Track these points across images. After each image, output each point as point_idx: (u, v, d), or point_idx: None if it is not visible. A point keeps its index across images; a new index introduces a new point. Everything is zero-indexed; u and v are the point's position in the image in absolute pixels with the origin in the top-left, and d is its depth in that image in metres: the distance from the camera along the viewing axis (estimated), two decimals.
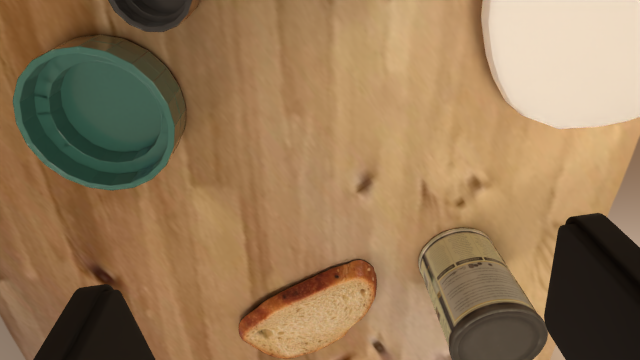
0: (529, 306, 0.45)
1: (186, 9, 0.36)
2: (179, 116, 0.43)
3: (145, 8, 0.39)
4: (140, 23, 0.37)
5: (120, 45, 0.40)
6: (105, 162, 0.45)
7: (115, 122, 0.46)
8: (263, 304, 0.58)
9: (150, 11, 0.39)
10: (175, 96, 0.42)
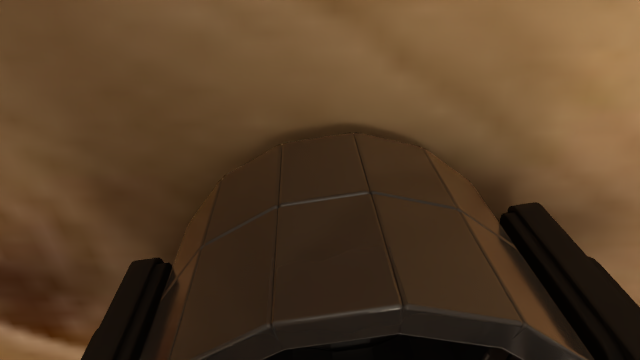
0: None
1: None
2: None
3: None
4: None
5: None
6: None
7: None
8: None
9: None
10: None
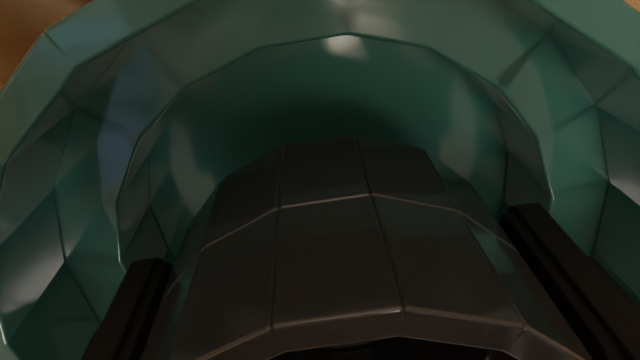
0: None
1: None
2: None
3: None
4: None
5: None
6: None
7: None
8: None
9: None
10: None
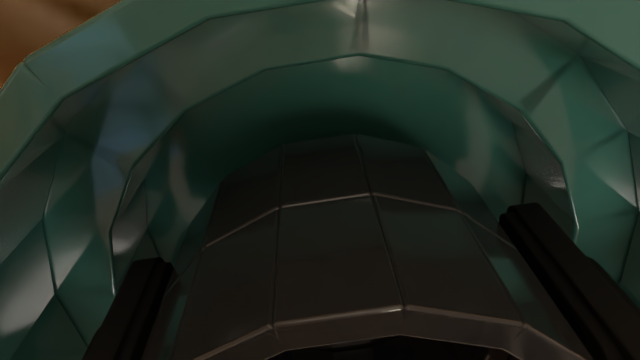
0: None
1: None
2: None
3: None
4: None
5: None
6: None
7: None
8: None
9: None
10: None
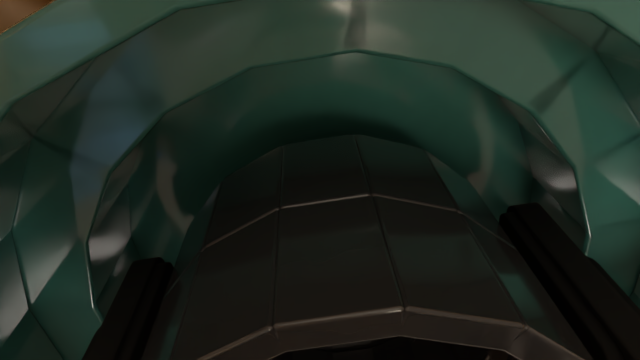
0: None
1: None
2: None
3: None
4: None
5: None
6: None
7: None
8: None
9: None
10: None
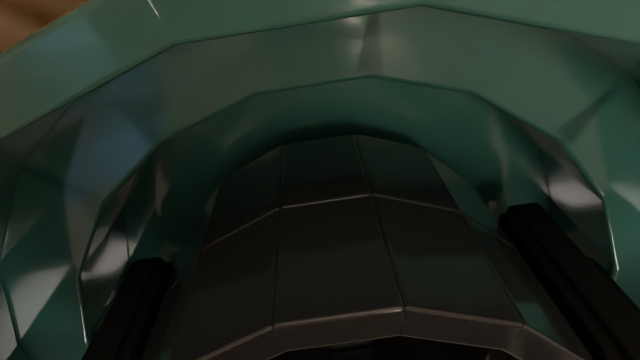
0: None
1: None
2: None
3: None
4: None
5: None
6: None
7: None
8: None
9: None
10: None
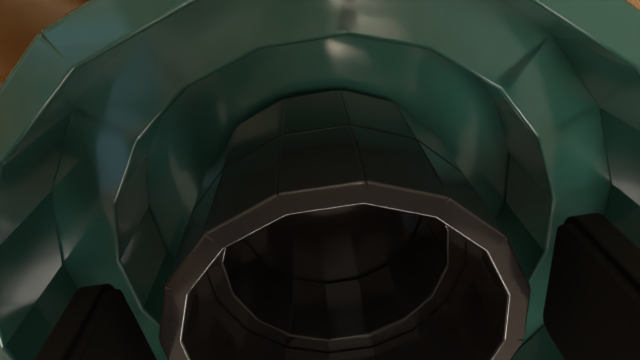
0: None
1: (516, 283, 0.08)
2: None
3: (362, 303, 0.13)
4: None
5: None
6: None
7: None
8: None
9: (378, 302, 0.12)
10: None
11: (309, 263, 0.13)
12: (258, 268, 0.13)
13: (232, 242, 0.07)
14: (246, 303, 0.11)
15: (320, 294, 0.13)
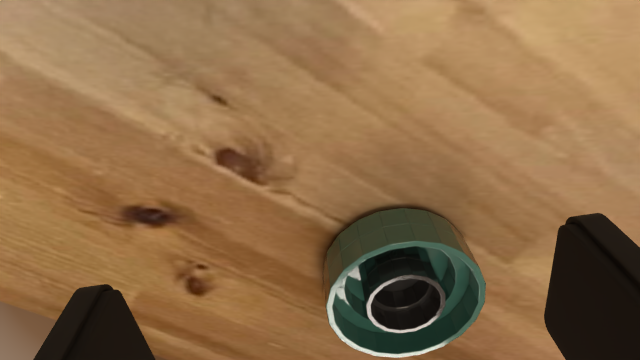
0: None
1: (442, 293, 0.38)
2: (454, 236, 0.38)
3: (404, 298, 0.43)
4: (420, 323, 0.40)
5: (362, 233, 0.38)
6: None
7: None
8: None
9: (409, 297, 0.43)
10: (435, 225, 0.38)
11: (388, 285, 0.43)
12: None
13: (386, 285, 0.37)
14: (375, 297, 0.41)
15: (391, 295, 0.43)
